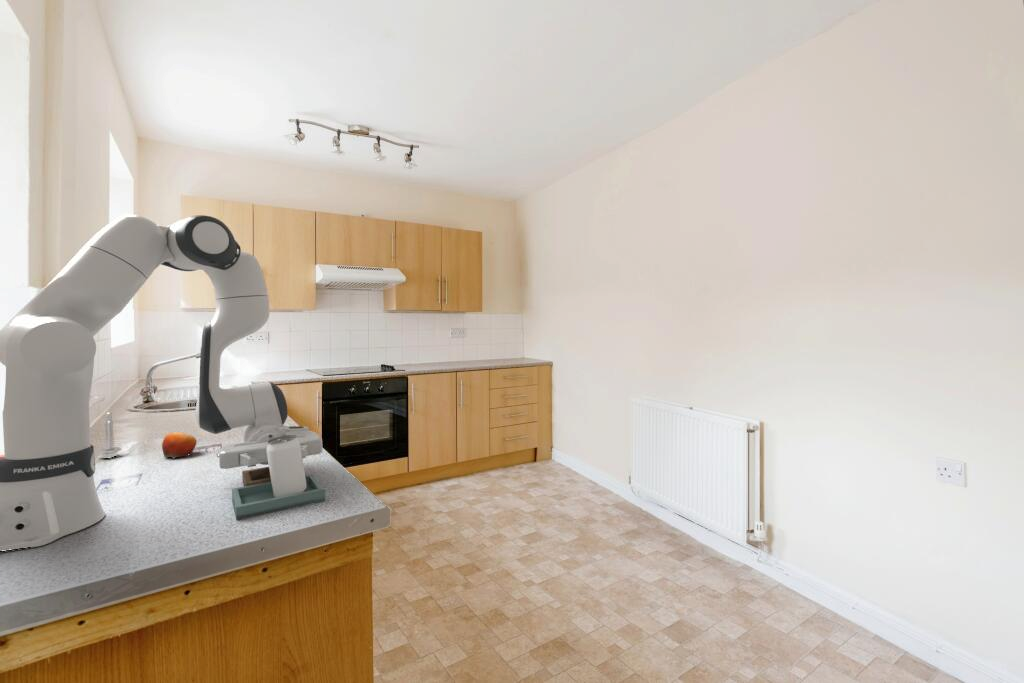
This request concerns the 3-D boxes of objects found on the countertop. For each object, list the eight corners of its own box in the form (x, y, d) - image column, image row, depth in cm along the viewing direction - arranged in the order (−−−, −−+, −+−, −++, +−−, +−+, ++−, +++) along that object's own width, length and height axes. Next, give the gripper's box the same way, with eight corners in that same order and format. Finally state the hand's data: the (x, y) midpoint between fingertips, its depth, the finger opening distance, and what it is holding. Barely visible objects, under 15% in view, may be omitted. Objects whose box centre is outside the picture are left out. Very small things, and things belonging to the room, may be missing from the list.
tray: (236, 520, 86) (236, 507, 86) (232, 500, 96) (231, 488, 95) (325, 500, 95) (324, 489, 95) (312, 484, 105) (312, 473, 105)
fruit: (147, 456, 123) (161, 428, 127) (171, 463, 130) (184, 436, 134) (170, 458, 121) (184, 429, 125) (194, 465, 128) (206, 437, 132)
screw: (120, 458, 127) (97, 461, 124) (122, 454, 130) (100, 457, 128) (118, 412, 126) (95, 414, 123) (120, 409, 130) (98, 411, 127)
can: (296, 498, 93) (288, 442, 92) (267, 500, 94) (258, 445, 92) (312, 485, 100) (304, 432, 98) (285, 487, 100) (276, 435, 99)
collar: (246, 494, 99) (246, 483, 99) (242, 481, 107) (242, 471, 107) (298, 484, 105) (298, 474, 105) (290, 472, 113) (290, 463, 113)
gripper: (215, 437, 99) (218, 452, 88) (314, 425, 111) (328, 436, 100) (216, 465, 100) (219, 483, 88) (314, 450, 111) (328, 464, 100)
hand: (277, 458), depth 94 cm, fingers open, 8 cm apart
